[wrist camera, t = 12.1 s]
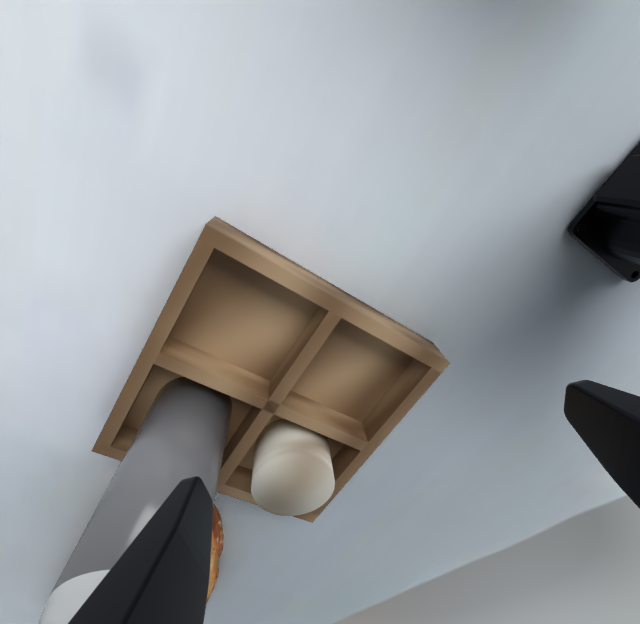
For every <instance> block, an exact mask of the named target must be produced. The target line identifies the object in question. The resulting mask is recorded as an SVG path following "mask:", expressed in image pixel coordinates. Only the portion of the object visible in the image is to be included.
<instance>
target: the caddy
mask: <svg viewBox="0 0 640 624" xmlns="http://www.w3.org/2000/svg"><path fill="white" fill-rule="evenodd" d="M449 364H450V363H449V361H448V360H447V359H446V358H445V357H444V355H443V354H442V353H441V352H440V351H439V349H438V348H437V347H436V346H435V345H434V343H432V342H431V341H429V340H427V339H425V338H424V337H422V336H420V335H419V334H417V333H415V332H413V331H412V330H410V329H408V328H407V327H405V326H403V325H401V324H400V323H398V322H396V321H394V320H393V319H391V318H389V317H388V316H386V315H384V314H382V313H381V312H379V311H377V310H376V309H374V308H372V307H370V306H369V305H367V304H365V303H364V302H362V301H360V300H358V299H357V298H355V297H353V296H351V295H350V294H348V293H346V292H345V291H343V290H341V289H339V288H338V287H336V286H334V285H333V284H331V283H329V282H327V281H326V280H324V279H322V278H321V277H319V276H317V275H315V274H314V273H312V272H310V271H309V270H307V269H305V268H303V267H302V266H300V265H298V264H296V263H295V262H293V261H291V260H290V259H288V258H286V257H284V256H283V255H281V254H279V253H278V252H276V251H274V250H272V249H271V248H269V247H267V246H266V245H264V244H262V243H260V242H259V241H257V240H255V239H253V238H252V237H250V236H248V235H247V234H245V233H243V232H241V231H240V230H238V229H236V228H235V227H233V226H231V225H229V224H228V223H226V222H224V221H223V220H221V219H219V218H217V217H216V216H215V217H214V218H213V219H212V220H210V221H209V222H208V223H207V224H206V225H205V227H204V229H203V231H202V233H201V235H200V237H199V239H198V241H197V243H196V245H195V247H194V249H193V251H192V253H191V255H190V257H189V259H188V261H187V263H186V265H185V267H184V269H183V271H182V273H181V275H180V277H179V279H178V281H177V283H176V284H175V286H174V288H173V290H172V292H171V294H170V296H169V298H168V300H167V302H166V304H165V306H164V308H163V310H162V312H161V314H160V316H159V318H158V320H157V322H156V324H155V326H154V328H153V330H152V332H151V334H150V336H149V338H148V340H147V342H146V344H145V346H144V348H143V350H142V352H141V354H140V356H139V358H138V360H137V362H136V364H135V366H134V368H133V370H132V372H131V374H130V376H129V378H128V380H127V382H126V384H125V386H124V388H123V390H122V392H121V394H120V396H119V398H118V400H117V402H116V404H115V406H114V408H113V410H112V412H111V414H110V416H109V418H108V420H107V422H106V423H105V425H104V427H103V429H102V431H101V433H100V435H99V437H98V439H97V441H96V443H95V445H94V447H93V449H92V451H93V452H96V453H99V454H102V455H105V456H108V457H111V458H114V459H117V460H120V461H122V460H123V458H124V456H125V454H126V452H127V450H128V448H129V446H130V445H131V443H132V441H133V439H134V437H135V435H136V433H137V431H138V430H139V428H140V426H141V424H142V422H143V420H144V418H145V416H146V415H147V413H148V411H149V409H150V407H151V405H152V403H153V401H154V400H155V398H156V396H157V394H158V392H159V391H160V389H161V388H162V387H163V386H164V385H165V384H166V383H168V382H169V381H171V380H173V379H176V378H179V377H186V378H188V379H191V380H193V381H196V382H198V383H200V384H203V385H205V386H207V387H210V388H212V389H215V390H217V391H219V392H222V393H224V394H227V395H229V396H230V399H231V402H232V413H231V419H230V424H229V429H228V434H227V439H226V444H225V449H224V454H223V459H222V464H221V469H220V474H219V479H218V484H217V490H216V492H219V493H222V494H226V495H229V496H232V497H235V498H238V499H241V500H244V501H247V502H250V503H253V504H256V505H259V506H260V507H261V508H263V509H264V510H266V511H268V512H270V513H273V514H277V515H283V516H294V517H297V518H300V519H303V520H306V521H309V522H312V523H313V521H314V520H315V519H316V518H317V517H318V516H319V514H320V513H321V512H322V511H323V510H324V509H325V507H326V506H327V505H328V504H329V503H330V502H331V500H332V499H333V498H334V497H335V496H336V495H337V494H338V492H339V491H340V490H341V489H342V488H343V487H344V485H345V484H346V483H347V482H348V481H349V480H350V478H351V477H352V476H353V475H354V474H355V473H356V471H357V470H358V469H359V468H360V467H361V466H362V465H363V463H364V462H365V461H366V460H367V459H368V458H369V456H370V455H371V454H372V453H373V452H374V451H375V449H376V448H377V447H378V446H379V445H380V444H381V442H382V441H383V440H384V439H385V438H386V437H387V436H388V434H389V433H390V432H391V431H392V430H393V429H394V427H395V426H396V425H397V424H398V423H399V422H400V420H401V419H402V418H403V417H404V416H405V415H406V413H407V412H408V411H409V410H410V409H411V408H412V407H413V405H414V404H415V403H416V402H417V401H418V400H419V398H420V397H421V396H422V395H423V394H424V393H425V391H426V390H427V389H428V388H429V387H430V386H431V385H432V383H433V382H434V381H435V380H436V379H437V378H438V376H439V375H440V374H441V373H442V372H443V371H444V369H445V368H446V367H447V366H448V365H449Z"/></svg>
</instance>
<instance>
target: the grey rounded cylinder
mask: <svg viewBox="0 0 640 624" xmlns="http://www.w3.org/2000/svg"><path fill="white" fill-rule="evenodd" d="M231 413H232V402H231V399H230V396H229V395H227V394H224V393H222V392H219V391H217V390H215V389H212V388H210V387H207V386H205V385H203V384H200V383H198V382H196V381H193V380H191V379H188V378H186V377H179V378H176V379H173V380H171V381H169V382H168V383H166V384H165V385H164V386H163V387H162V388H161V389H160V391H159V392H158V394H157V396H156V398H155V400H154V401H153V403H152V405H151V407H150V409H149V411H148V413H147V415H146V416H145V418H144V420H143V422H142V424H141V426H140V428H139V430H138V431H137V433H136V435H135V437H134V439H133V441H132V443H131V445H130V446H129V448H128V450H127V452H126V454H125V456H124V458H123V460H122V461H121V463H120V465H119V467H118V469H117V471H116V473H115V475H114V476H113V478H112V480H111V482H110V484H109V486H108V488H107V490H106V491H105V493H104V495H103V497H102V499H101V501H100V503H99V505H98V506H97V508H96V510H95V512H94V514H93V516H92V518H91V520H90V521H89V523H88V525H87V527H86V529H85V531H84V533H83V535H82V536H81V538H80V540H79V542H78V544H77V546H76V548H75V550H74V551H73V553H72V555H71V557H70V559H69V561H68V563H67V565H66V566H65V568H64V570H63V572H62V574H61V576H60V578H59V580H58V581H57V583H56V585H55V587H54V589H53V591H52V593H51V595H50V597H49V598H48V600H47V602H46V605H45V607H44V609H43V611H42V614H41V617H40V619H39V622H38V624H68V622H69V621H70V620H71V619H72V617H73V616H74V615H75V614H76V612H77V611H78V610H79V609H80V607H81V606H82V605H83V603H84V602H85V601H86V600H87V598H88V597H89V596H90V595H91V593H92V592H93V591H94V590H95V588H96V587H97V586H98V584H99V583H100V582H101V581H102V579H103V578H104V577H105V576H106V574H107V573H108V572H109V571H110V569H111V568H112V567H113V565H114V564H115V563H116V562H117V560H118V559H119V558H120V557H121V555H122V554H123V553H124V552H125V550H126V549H127V548H128V546H129V545H130V544H131V543H132V541H133V540H134V539H135V538H136V536H137V535H138V534H139V533H140V531H141V530H142V529H143V527H144V526H145V525H146V524H147V522H148V521H149V520H150V519H151V517H152V516H153V515H154V514H155V512H156V511H157V510H158V508H159V507H160V506H161V505H162V503H163V502H164V501H165V500H166V498H167V497H168V496H169V495H170V493H171V492H172V491H173V490H174V488H175V487H176V486H177V484H178V483H179V482H180V481H181V480H183V479H187V478H191V477H195V476H199V477H200V478H201V479H202V481H203V482H204V484H205V486H206V488H207V490H208V492H209V494H210V496H211V498H212V501H213V505H214V500H215V495H216V490H217V484H218V479H219V474H220V469H221V464H222V459H223V454H224V449H225V444H226V439H227V434H228V429H229V424H230V419H231Z"/></svg>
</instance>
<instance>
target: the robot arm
mask: <svg viewBox="0 0 640 624" xmlns="http://www.w3.org/2000/svg"><path fill="white" fill-rule="evenodd" d="M579 226H580V229H579V230H578V231H577V229H578V227H579ZM568 232H569V234H570V235H571V236H572V237H573V238H575V239H576V240H577V241H578V242H579V243H581V244H582V245H583V246H584V247H585V248H586V249H588V250H589V251H590V252H591V253H592V254H594V255H595V256H596V257H597V258H598V259H599V260H601V261H602V262H603V263H604V264H605V265H607V266H608V267H609V268H610V269H611V270H612V271H614V272H615V273H616V274H617V275H618V276H620V277H621V278H622V279H623V280H626V281H629V282H635V281H637V280H638V279H639V278H640V143H639V144H638V146H637V147H636V148H635V149H634V150H633V151H632V153H631V154H630V155H629V156H628V157H627V158H626V160H625V161H624V162H623V163H622V164H621V165H620V167H619V168H618V169H617V170H616V171H615V172H614V173H613V175H612V176H611V177H610V178H609V179H608V180H607V182H606V183H605V184H604V185H603V186H602V187H601V189H600V190H599V191H598V192H597V193H596V194H595V196H594V197H593V198H592V199H591V200H590V201H589V202H588V204H587V205H586V206H585V207H584V208H583V209H582V211H581V212H580V213H579V214H578V215H577V216H576V218H575V219H574V220H573V221H572V222H571V224H570V225H569V228H568ZM564 413H565V416H566V418H567V420H568V421H569V423H570V424H571V425H572V426H573V428H574V429H575V430H576V432H577V433H578V434H579V436H580V437H581V438H582V440H583V441H584V442H585V443H586V445H587V446H588V447H589V449H590V450H591V451H592V453H593V454H594V455H595V457H596V458H597V459H598V461H599V462H600V463H601V464H602V466H603V467H604V468H605V470H606V471H607V472H608V473H609V475H610V476H611V477H612V478H613V479H614V481H615V482H616V483H617V484H618V485H619V486H620V487H621V489H622V490H623V491H624V492H625V493H626V494H627V495H628V496H629V497H630V499H632V501H633V502H634V503H635V504H636V505H637V506H638V507H639V508H640V397H639V396H636V395H633V394H630V393H627V392H624V391H621V390H617V389H614V388H611V387H608V386H605V385H602V384H599V383H596V382H593V381H589V380H582V381H578V382H573V383H570V384H568V386H567V387H566V394H565V403H564ZM212 523H213V501H212V498H211V496H210V494H209V492H208V490H207V488H206V486H205V484H204V482H203V481H202V479H201V478H200V477H199V476H195V477H191V478H187V479H183V480H181V481H180V482H179V483H178V484H177V486H176V487H175V488H174V490H173V491H172V492H171V493H170V495H169V496H168V497H167V498H166V500H165V501H164V502H163V503H162V505H161V506H160V507H159V508H158V510H157V511H156V512H155V514H154V515H153V516H152V517H151V519H150V520H149V521H148V522H147V524H146V525H145V526H144V527H143V529H142V530H141V531H140V533H139V534H138V535H137V536H136V538H135V539H134V540H133V541H132V543H131V544H130V545H129V546H128V548H127V549H126V550H125V552H124V553H123V554H122V555H121V557H120V558H119V559H118V560H117V562H116V563H115V564H114V565H113V567H112V568H111V569H110V571H109V572H108V573H107V574H106V576H105V577H104V578H103V579H102V581H101V582H100V583H99V584H98V586H97V587H96V588H95V590H94V591H93V592H92V593H91V595H90V596H89V597H88V598H87V600H86V601H85V602H84V603H83V605H82V606H81V607H80V609H79V610H78V611H77V612H76V614H75V615H74V616H73V617H72V619H71V620H70V621H69V622H68V624H203V622H204V615H205V608H206V601H207V594H208V587H209V578H210V562H211V543H212Z"/></svg>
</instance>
